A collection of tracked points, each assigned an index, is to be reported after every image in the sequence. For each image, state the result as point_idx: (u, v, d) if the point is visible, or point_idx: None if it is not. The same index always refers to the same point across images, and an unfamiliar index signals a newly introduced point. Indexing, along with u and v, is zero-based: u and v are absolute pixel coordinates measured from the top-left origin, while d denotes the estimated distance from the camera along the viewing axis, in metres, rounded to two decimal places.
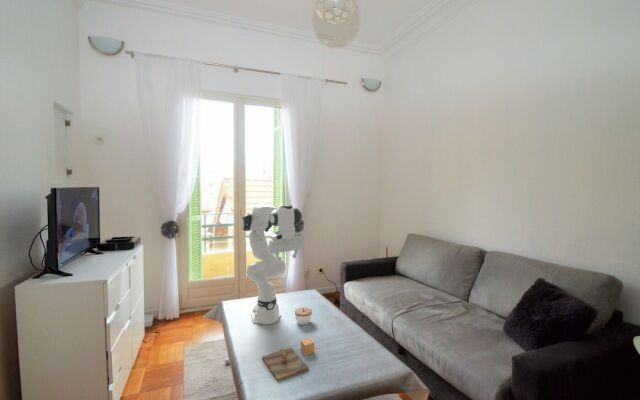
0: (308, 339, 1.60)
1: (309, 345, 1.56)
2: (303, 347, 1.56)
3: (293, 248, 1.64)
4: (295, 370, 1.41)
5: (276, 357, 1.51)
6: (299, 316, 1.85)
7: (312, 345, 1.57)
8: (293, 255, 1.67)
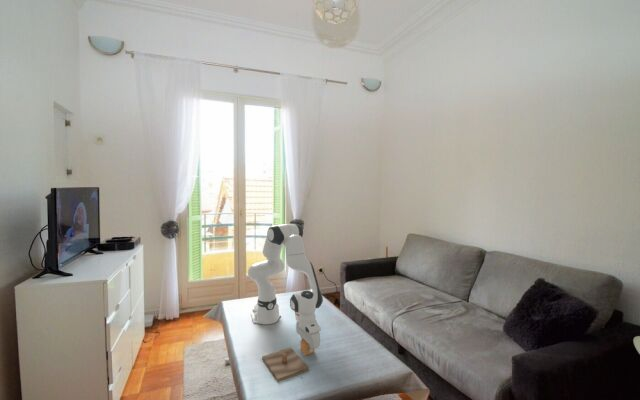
0: None
1: None
2: (303, 347, 1.56)
3: None
4: (295, 370, 1.41)
5: (276, 357, 1.51)
6: None
7: None
8: None
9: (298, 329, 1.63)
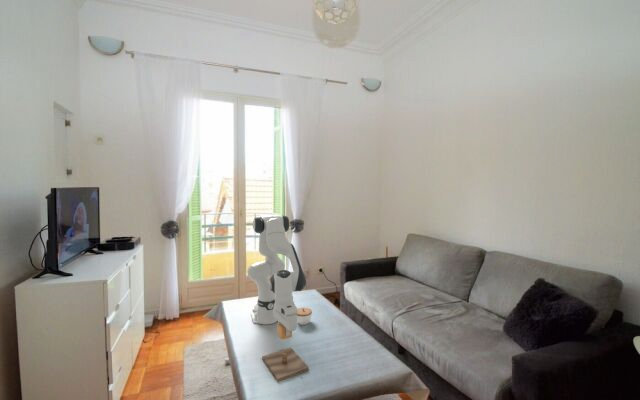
0: None
1: None
2: (280, 331, 1.44)
3: None
4: (295, 370, 1.41)
5: (276, 357, 1.51)
6: (299, 316, 1.85)
7: None
8: None
9: (275, 312, 1.50)
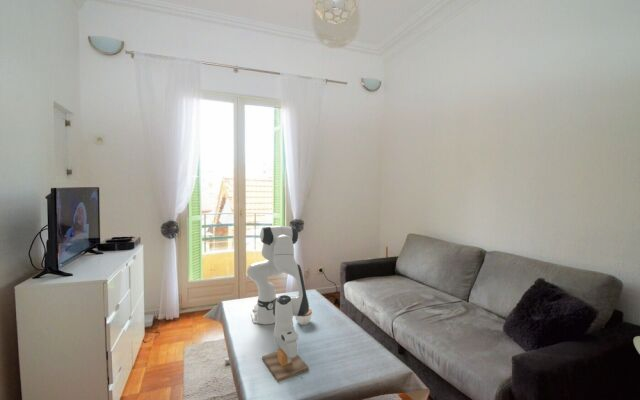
0: None
1: (286, 355, 1.45)
2: (280, 357, 1.45)
3: None
4: (295, 370, 1.41)
5: (276, 357, 1.51)
6: (299, 316, 1.85)
7: None
8: None
9: (275, 336, 1.51)
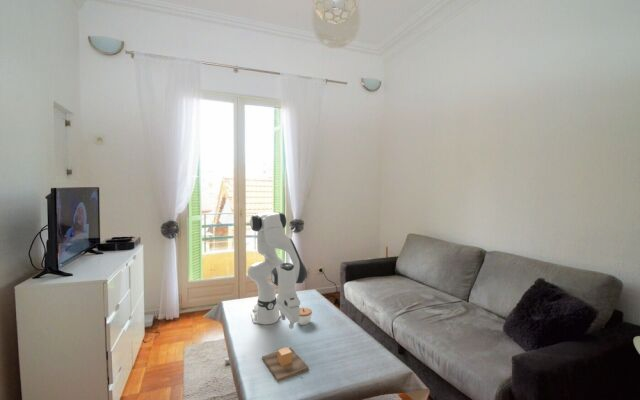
0: (286, 348, 1.49)
1: (286, 355, 1.45)
2: (280, 357, 1.45)
3: None
4: (295, 370, 1.41)
5: (276, 357, 1.51)
6: None
7: (289, 355, 1.46)
8: (283, 317, 1.52)
9: (278, 304, 1.53)
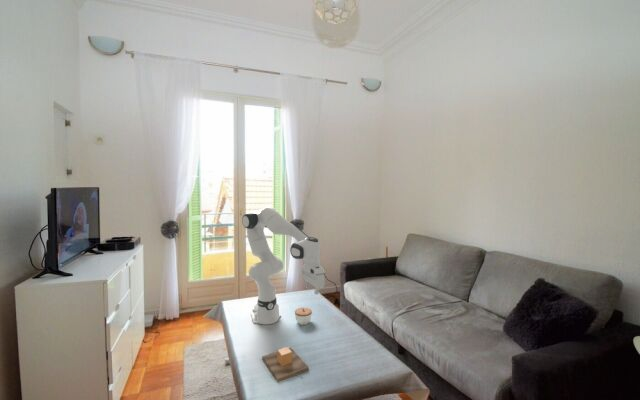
0: (286, 348, 1.49)
1: (286, 355, 1.45)
2: (280, 357, 1.45)
3: None
4: (295, 370, 1.41)
5: (276, 357, 1.51)
6: (299, 316, 1.85)
7: (289, 355, 1.46)
8: (308, 286, 1.69)
9: (303, 275, 1.70)
